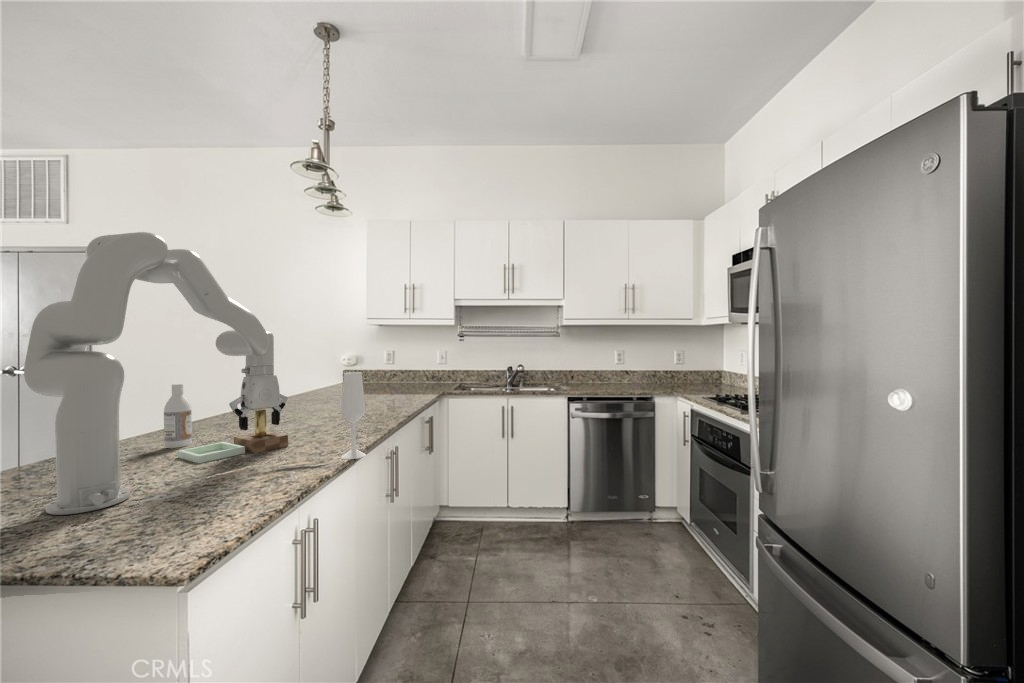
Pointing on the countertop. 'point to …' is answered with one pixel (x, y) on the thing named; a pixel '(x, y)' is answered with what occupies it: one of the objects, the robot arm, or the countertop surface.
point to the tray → (211, 452)
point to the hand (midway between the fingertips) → (260, 427)
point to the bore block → (262, 442)
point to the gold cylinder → (260, 423)
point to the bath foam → (177, 419)
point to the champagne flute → (353, 407)
